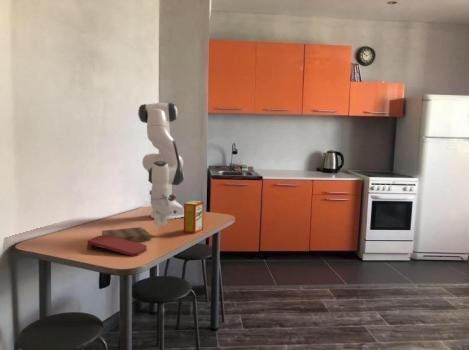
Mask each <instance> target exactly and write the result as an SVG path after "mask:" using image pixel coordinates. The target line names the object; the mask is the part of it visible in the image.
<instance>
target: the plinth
mask: <svg viewBox="0 0 469 350" xmlns="http://www.w3.org/2000/svg"><path fill="white" fill-rule="evenodd" d="M101 235H111V236H115V237H118V238H122V239H125V240H129V241H132V242H136V243H140V242H148V241H151V237H152V236H151V233H149V232H148V231H147V230H146V229H145V228H144V227H142V226H141V227H130V228H116V229H105V230H101Z"/></svg>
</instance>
